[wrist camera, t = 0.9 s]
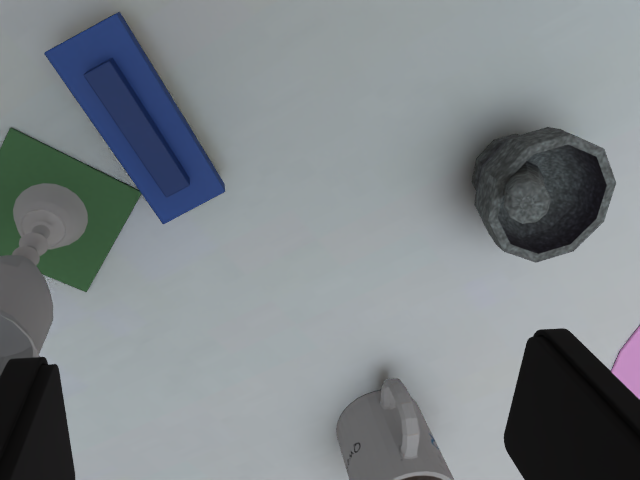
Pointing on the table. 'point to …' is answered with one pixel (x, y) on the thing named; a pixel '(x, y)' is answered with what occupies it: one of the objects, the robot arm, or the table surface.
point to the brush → (137, 117)
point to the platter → (629, 364)
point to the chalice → (34, 266)
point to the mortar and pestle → (542, 192)
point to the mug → (389, 438)
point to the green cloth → (86, 182)
